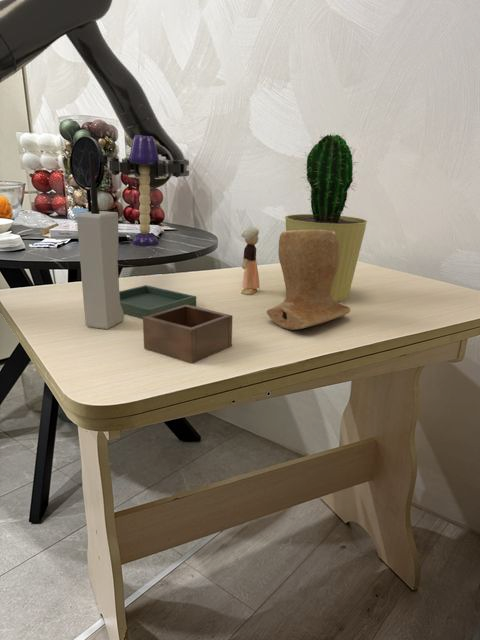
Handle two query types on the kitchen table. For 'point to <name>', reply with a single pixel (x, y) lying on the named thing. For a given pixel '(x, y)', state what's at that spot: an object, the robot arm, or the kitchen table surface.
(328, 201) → the potted cactus
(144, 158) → the toy lamp
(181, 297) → the tray
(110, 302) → the utensil holder
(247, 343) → the kitchen table surface
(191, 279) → the kitchen table surface
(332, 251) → the brown flared block
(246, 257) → the grandmother figurine
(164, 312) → the brown wooden box
